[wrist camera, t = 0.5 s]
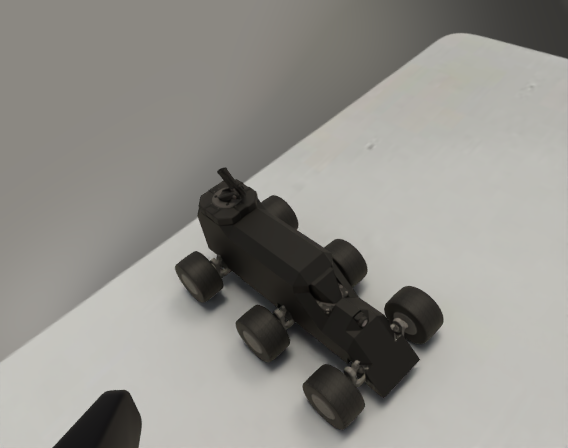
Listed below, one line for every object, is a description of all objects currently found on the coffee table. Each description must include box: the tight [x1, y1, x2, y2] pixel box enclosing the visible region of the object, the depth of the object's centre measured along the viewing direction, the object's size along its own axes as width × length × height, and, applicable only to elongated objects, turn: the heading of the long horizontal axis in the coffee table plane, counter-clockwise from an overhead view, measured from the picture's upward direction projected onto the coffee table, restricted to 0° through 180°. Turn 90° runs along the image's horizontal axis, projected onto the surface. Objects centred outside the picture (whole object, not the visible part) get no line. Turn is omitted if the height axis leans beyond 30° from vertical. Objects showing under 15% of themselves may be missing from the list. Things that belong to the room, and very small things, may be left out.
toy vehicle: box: [175, 168, 443, 430], centre depth 29 cm, size 8×15×9 cm, turn 43°
